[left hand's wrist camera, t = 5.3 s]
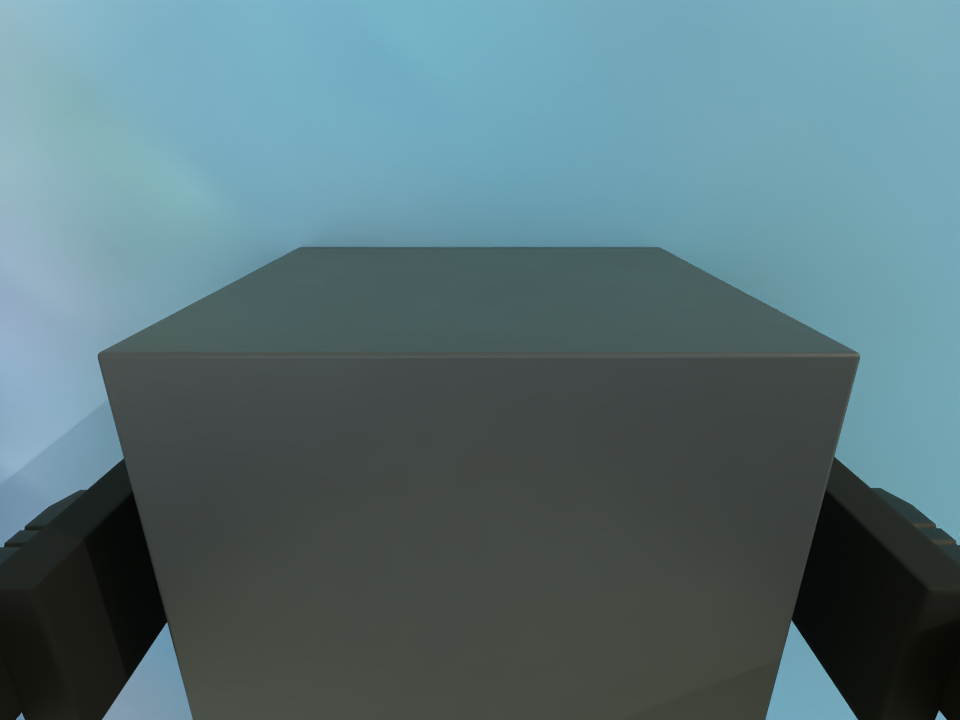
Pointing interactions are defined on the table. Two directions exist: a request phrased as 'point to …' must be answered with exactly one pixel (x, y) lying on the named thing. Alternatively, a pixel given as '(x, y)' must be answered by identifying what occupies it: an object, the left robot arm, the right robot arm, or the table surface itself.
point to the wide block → (478, 484)
